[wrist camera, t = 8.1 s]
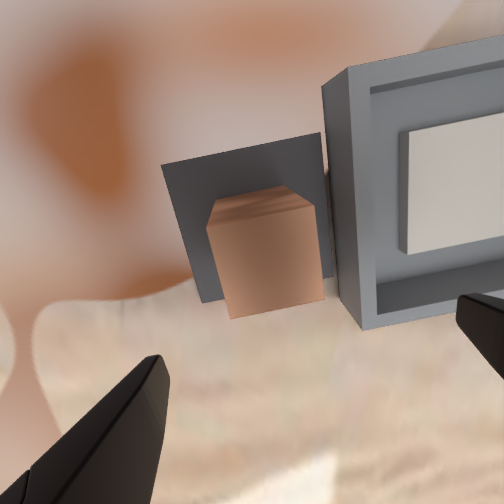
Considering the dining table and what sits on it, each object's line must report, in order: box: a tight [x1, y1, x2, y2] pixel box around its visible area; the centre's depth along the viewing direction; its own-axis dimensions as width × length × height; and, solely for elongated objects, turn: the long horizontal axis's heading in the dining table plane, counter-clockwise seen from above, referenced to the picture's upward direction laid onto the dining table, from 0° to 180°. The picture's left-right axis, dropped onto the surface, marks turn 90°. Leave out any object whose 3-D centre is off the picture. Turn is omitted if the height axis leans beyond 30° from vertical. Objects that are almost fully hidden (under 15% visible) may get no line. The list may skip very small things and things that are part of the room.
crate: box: [321, 35, 504, 331], centre depth 17 cm, size 17×15×4 cm
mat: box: [161, 132, 334, 303], centre depth 19 cm, size 10×10×1 cm
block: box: [206, 185, 325, 319], centre depth 15 cm, size 4×4×7 cm
